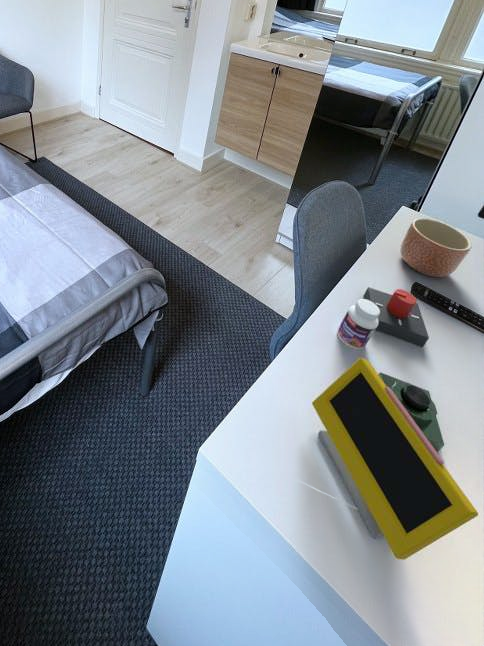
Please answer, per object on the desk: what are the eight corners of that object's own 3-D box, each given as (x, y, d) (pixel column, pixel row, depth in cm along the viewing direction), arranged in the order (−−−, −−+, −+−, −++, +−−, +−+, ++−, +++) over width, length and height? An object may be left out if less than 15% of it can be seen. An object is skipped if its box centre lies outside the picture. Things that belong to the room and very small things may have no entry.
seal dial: (405, 307, 93) (415, 292, 91) (409, 321, 90) (419, 305, 88) (384, 300, 95) (393, 285, 92) (388, 313, 91) (397, 298, 89)
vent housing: (375, 378, 81) (383, 365, 79) (423, 398, 78) (433, 385, 76) (383, 429, 72) (393, 415, 71) (438, 452, 70) (450, 439, 68)
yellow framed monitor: (304, 414, 74) (336, 356, 66) (345, 411, 75) (381, 354, 67) (385, 570, 56) (441, 515, 49) (438, 564, 57) (500, 510, 50)
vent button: (399, 387, 76) (403, 381, 75) (422, 396, 74) (427, 390, 74) (403, 405, 73) (407, 399, 72) (428, 415, 72) (432, 409, 71)
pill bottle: (332, 336, 89) (349, 304, 84) (342, 323, 92) (359, 291, 87) (359, 355, 85) (378, 322, 80) (369, 341, 88) (388, 309, 84)
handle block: (412, 312, 96) (418, 302, 95) (422, 347, 88) (429, 337, 86) (363, 296, 99) (368, 286, 98) (368, 328, 91) (374, 318, 90)
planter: (444, 291, 103) (466, 258, 98) (388, 261, 111) (406, 229, 106) (455, 269, 110) (476, 237, 105) (402, 243, 118) (419, 212, 113)
